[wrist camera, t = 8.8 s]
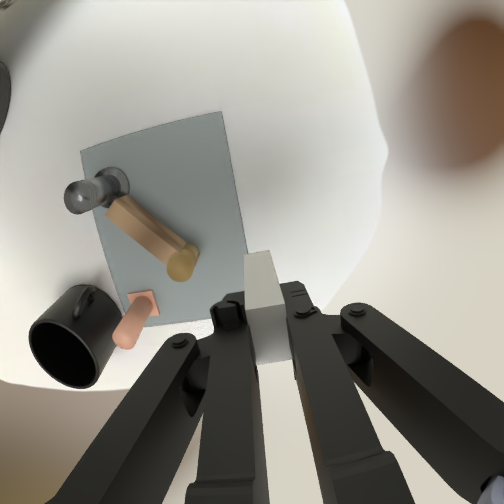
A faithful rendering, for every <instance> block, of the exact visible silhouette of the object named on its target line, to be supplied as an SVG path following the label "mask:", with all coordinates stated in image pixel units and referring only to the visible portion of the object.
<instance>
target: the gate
mask: <svg viewBox="0 0 504 504" xmlns="http://www.w3.org/2000/svg"><path fill="white" fill-rule="evenodd" d="M105 216H106V217H107V218H108V219H109V220H111V221H112V222H113V223H114V224H115V225H117V226H118V227H119V228H120V229H121V230H123V231H124V232H125V233H126V234H128V235H129V236H130V237H131V238H132V239H134V240H135V241H136V242H137V243H139V244H140V245H141V246H142V247H144V248H145V249H146V250H147V251H149V252H150V253H151V254H152V255H154V256H155V257H156V258H158V259H159V260H160V261H161V262H163V263H164V264H165V265H167V273H168V275H169V277H170V278H171V279H172V280H174V281H176V282H185V281H187V280H189V279H190V278H191V276H192V274H193V271H194V268H195V266H196V264H197V261H198V258H199V256H200V252H199V251H198V248H197V247H196V246H195V245H194V244H192V243H188V242H186V241H184V240H183V239H182V238H180V237H179V236H178V235H177V234H175V233H174V232H173V231H172V230H170V229H169V228H168V227H167V226H165V225H164V224H163V223H162V222H160V221H159V220H158V219H157V218H155V217H154V216H153V215H152V214H150V213H149V212H148V211H147V210H145V209H144V208H143V207H142V206H141V205H139V204H138V203H137V202H136V201H134V200H133V199H132V198H131V197H130V196H128V195H126V196H123V197H121V198H118V199H116V200H114V201H113V203H112V204H111V206H110V208H109V209H108V211H107V212H106V214H105Z"/></svg>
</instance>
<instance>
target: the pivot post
mask: <svg viewBox="0 0 504 504" xmlns="http://www.w3.org/2000/svg"><path fill="white" fill-rule="evenodd" d="M129 189H130V185H129V180H128V178H127V176H126V174H125V173H124V172H123V171H122V170H121V169H119V168H116V167H107V168H104V169H102V170H100V171H99V172H98V173H97V174H96V175H95V177H94V178H90V179H85V180H81V181H76V182H73V183H71V184H69V185H68V187H67V188H66V190H65V193H64V202H65V205H66V207H67V209H68V210H69V211H70V212H71V213H73V214H82V213H84V212H86V211H89V210H91V209H93V208H96V207H98V206H102V207H104V208H110V206H111V204H112V203H113V201H114V200H116V199H118V198H121V197H123V196H126V195H128V194H129Z"/></svg>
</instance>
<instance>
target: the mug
mask: <svg viewBox="0 0 504 504" xmlns="http://www.w3.org/2000/svg"><path fill="white" fill-rule="evenodd" d="M121 320H122V317H121V314H120V312H119V310H118V308H117V306H116V305H115V303H114V302H113V301H112V300H111V299H110V298H109V297H108V296H107V295H106V294H105V293H103V292H102V291H100V290H99V289H96V288H94V287H93V286H92V285H89V286H86V285H79V286H74V287H72V288H70V289H69V290H68V291H66V292H65V293H64V294H63V295H62V296H61V297H60V298H59V299H58V300H57V301H56V302H55V303H54V304H53V305H52V306H51V307H49V308H48V309H47V310H46V311H45V312H44V313H43V314H42V315H41V316H40V317H39V318H38V319H37V320H36V321H35V322H34V323H33V324H32V326H31V328H30V331H29V344H30V348H31V351H32V353H33V355H34V357H35V359H36V360H37V362H38V363H39V365H40V366H41V367H42V368H43V369H44V371H45V372H46V373H48V374H49V375H50V376H51V377H52V378H54V379H55V380H56V381H58V382H60V383H62V384H64V385H66V386H68V387H71V388H76V389H86V388H89V387H91V386H93V385H94V384H95V383H96V382H97V380H98V378H99V377H100V375H101V373H102V371H103V369H104V367H105V365H106V364H107V362H108V360H109V358H110V356H111V354H112V353H113V351H114V349H115V347H116V346H117V345H116V344H115V342H114V341H113V337H112V335H113V332H114V331H115V329H116V328H117V326H118V324H119V323H120V321H121Z"/></svg>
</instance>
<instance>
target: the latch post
mask: <svg viewBox="0 0 504 504" xmlns="http://www.w3.org/2000/svg"><path fill="white" fill-rule="evenodd" d="M127 296H128V299H129V302H130V304H131V306H130V307H129V309H128V310H127V312H126V313H125V315H124V317H123V318H122V320H121V321H120V323H119V324H118V326H117V328H116V329H115V331H114V332H113V335H112V337H113V341H114V342H115V344H116V345H117V346H119V347H120V348H122V349H131V348H133V347H134V345H135V343H136V341H137V339H138V337H139V335H140V333H141V331H142V329H143V327H144V325H145V323H146V321H147V319H148V317H149V316H157V315H160V311H159V308H158V305H157V302H156V299H155V296H154V293H153V290H152V289H151V290H145V291H138V292H132V293H128V294H127Z"/></svg>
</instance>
